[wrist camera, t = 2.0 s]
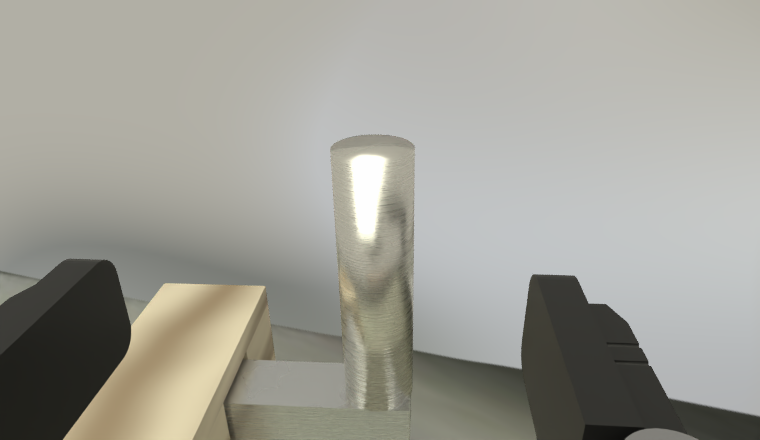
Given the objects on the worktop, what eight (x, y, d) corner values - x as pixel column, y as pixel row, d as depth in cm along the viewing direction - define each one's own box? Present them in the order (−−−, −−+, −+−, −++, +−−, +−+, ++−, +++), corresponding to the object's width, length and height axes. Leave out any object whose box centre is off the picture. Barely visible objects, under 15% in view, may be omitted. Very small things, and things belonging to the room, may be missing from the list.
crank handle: (412, 408, 29) (415, 134, 22) (410, 459, 26) (413, 162, 19) (25, 391, 31) (-82, 132, 24) (-16, 437, 28) (-151, 157, 21)
